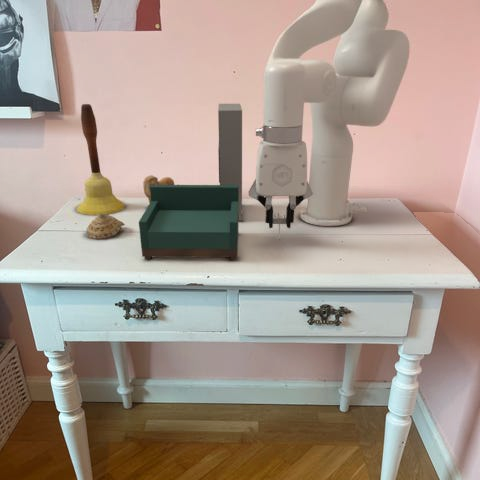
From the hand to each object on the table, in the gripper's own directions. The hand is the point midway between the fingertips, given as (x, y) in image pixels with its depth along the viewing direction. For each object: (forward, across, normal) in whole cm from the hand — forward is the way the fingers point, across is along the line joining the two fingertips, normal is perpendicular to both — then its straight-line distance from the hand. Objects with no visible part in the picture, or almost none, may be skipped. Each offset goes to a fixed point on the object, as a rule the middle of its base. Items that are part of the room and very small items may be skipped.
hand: (279, 225), depth 102 cm
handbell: (+4, -45, +26) cm, 52 cm away
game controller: (+1, 0, 0) cm, 1 cm away
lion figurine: (+5, -29, +28) cm, 40 cm away
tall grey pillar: (+5, -11, +22) cm, 25 cm away
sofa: (+4, -18, -2) cm, 19 cm away
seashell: (+4, -39, +6) cm, 40 cm away
